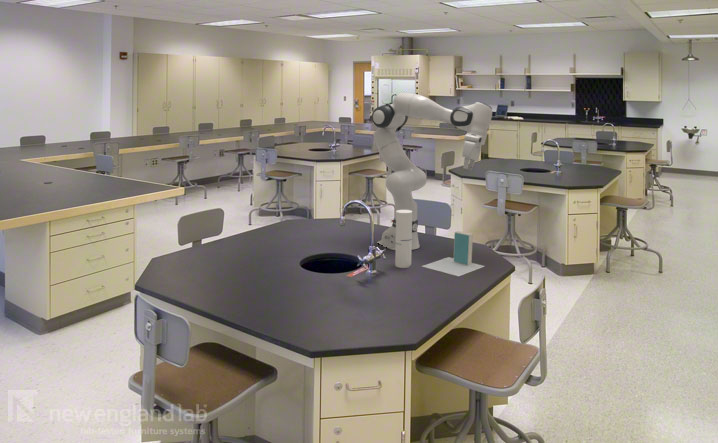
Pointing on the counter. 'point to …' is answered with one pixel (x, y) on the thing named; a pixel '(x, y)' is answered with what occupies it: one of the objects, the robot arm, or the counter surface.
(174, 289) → the counter surface
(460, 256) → the tile
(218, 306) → the counter surface
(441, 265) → the mat
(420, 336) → the counter surface
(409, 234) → the cylindrical container
